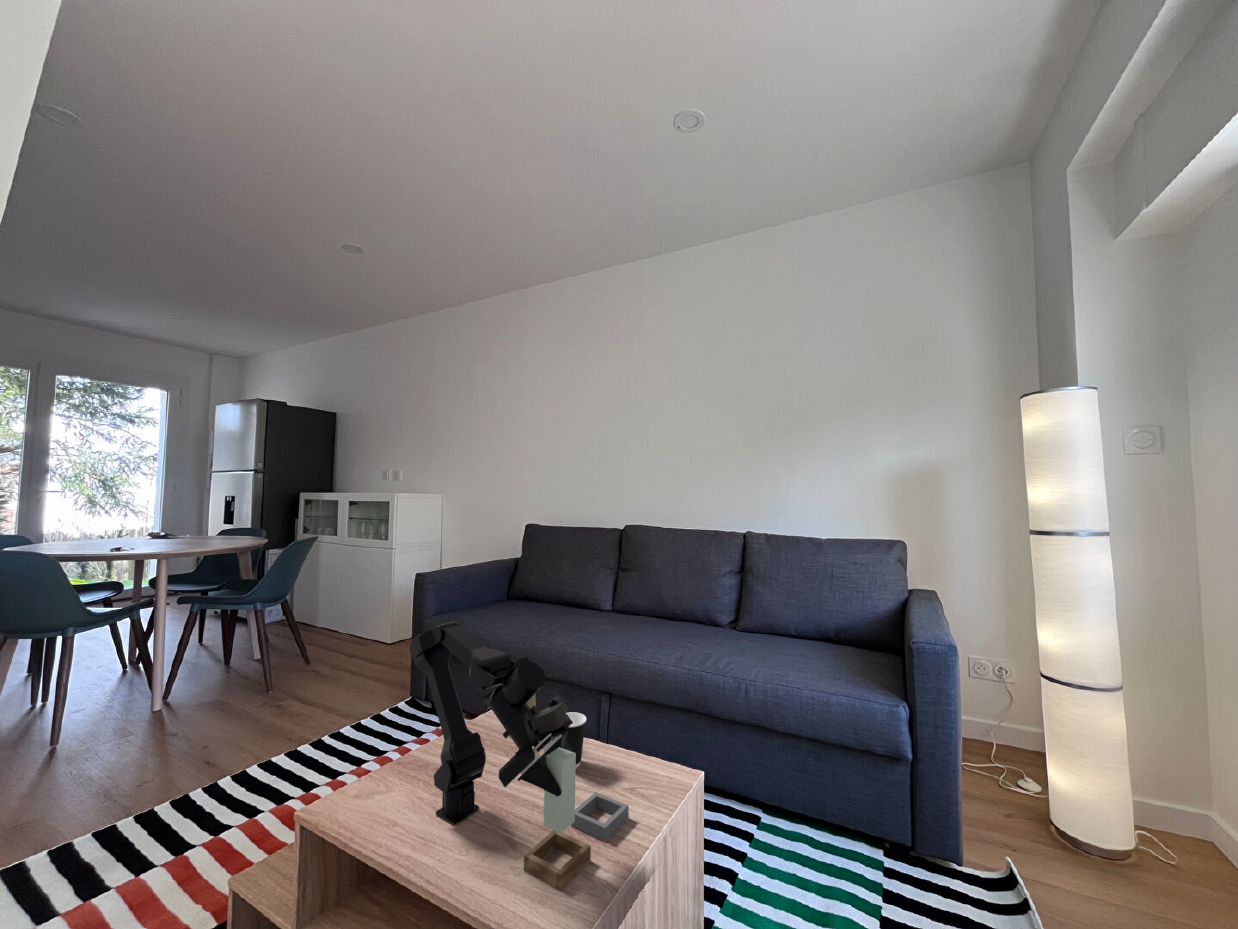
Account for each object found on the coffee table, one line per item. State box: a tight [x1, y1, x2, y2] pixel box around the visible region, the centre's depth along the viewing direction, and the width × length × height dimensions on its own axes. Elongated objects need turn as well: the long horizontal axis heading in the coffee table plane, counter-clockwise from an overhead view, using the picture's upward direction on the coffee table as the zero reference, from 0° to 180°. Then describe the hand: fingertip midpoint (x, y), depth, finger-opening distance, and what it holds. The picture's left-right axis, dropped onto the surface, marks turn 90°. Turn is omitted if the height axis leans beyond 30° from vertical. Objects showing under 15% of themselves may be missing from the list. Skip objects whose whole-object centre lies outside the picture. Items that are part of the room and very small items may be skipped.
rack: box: [523, 830, 592, 892], centre depth 88 cm, size 8×8×2 cm
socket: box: [570, 792, 630, 842], centre depth 100 cm, size 8×8×2 cm
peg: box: [543, 748, 577, 834], centre depth 89 cm, size 4×4×12 cm
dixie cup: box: [561, 711, 587, 769], centre depth 122 cm, size 8×8×11 cm
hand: (566, 787), depth 89 cm, fingers closed on peg, 5 cm apart
